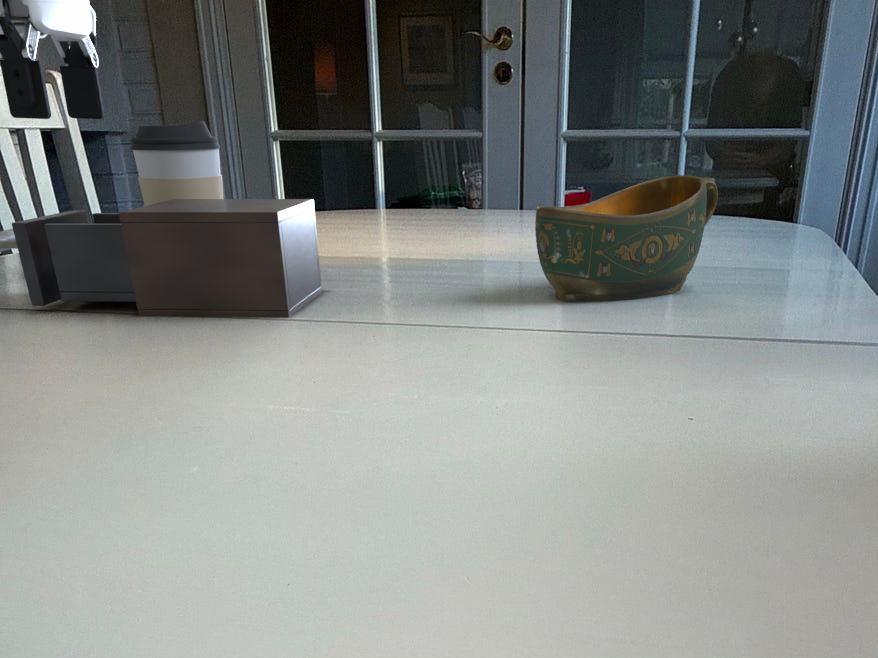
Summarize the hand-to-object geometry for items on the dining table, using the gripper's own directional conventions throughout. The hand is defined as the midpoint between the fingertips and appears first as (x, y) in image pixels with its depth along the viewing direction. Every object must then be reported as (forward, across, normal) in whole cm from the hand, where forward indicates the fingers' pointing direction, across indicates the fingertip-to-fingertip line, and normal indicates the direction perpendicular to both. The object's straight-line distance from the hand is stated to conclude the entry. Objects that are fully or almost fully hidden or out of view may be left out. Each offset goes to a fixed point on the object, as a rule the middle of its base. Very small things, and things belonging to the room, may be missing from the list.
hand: (60, 118), depth 77 cm
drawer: (+14, 0, 0) cm, 14 cm away
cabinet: (+15, 0, +14) cm, 20 cm away
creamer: (+14, -8, +51) cm, 53 cm away
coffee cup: (+15, -17, +4) cm, 23 cm away
